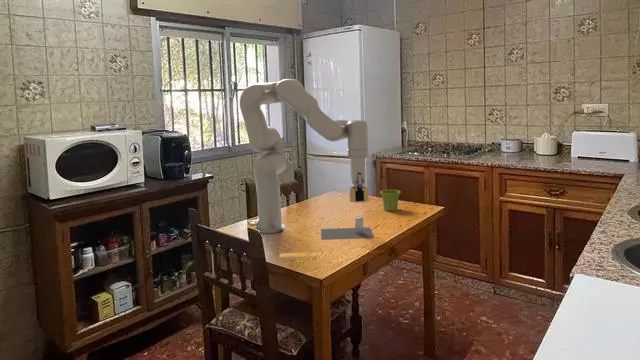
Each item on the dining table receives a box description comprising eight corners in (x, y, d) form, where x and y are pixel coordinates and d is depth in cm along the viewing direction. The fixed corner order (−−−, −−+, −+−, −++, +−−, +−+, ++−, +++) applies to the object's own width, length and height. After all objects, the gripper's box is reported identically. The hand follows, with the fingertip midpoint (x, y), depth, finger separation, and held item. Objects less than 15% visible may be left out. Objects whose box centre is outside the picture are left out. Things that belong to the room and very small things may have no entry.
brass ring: (350, 202, 193) (350, 189, 192) (349, 198, 200) (348, 186, 199) (368, 202, 193) (368, 189, 192) (366, 198, 200) (366, 185, 199)
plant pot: (376, 209, 240) (376, 191, 238) (393, 206, 244) (393, 188, 242) (387, 213, 231) (387, 194, 230) (404, 210, 235) (404, 192, 234)
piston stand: (321, 242, 192) (320, 224, 191) (320, 231, 206) (320, 214, 205) (374, 240, 192) (374, 222, 191) (370, 230, 206) (369, 213, 205)
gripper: (346, 150, 201) (347, 194, 205) (349, 156, 184) (350, 204, 188) (365, 149, 201) (366, 193, 205) (370, 156, 184) (371, 203, 188)
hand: (358, 198), depth 196 cm, fingers closed on brass ring, 7 cm apart
